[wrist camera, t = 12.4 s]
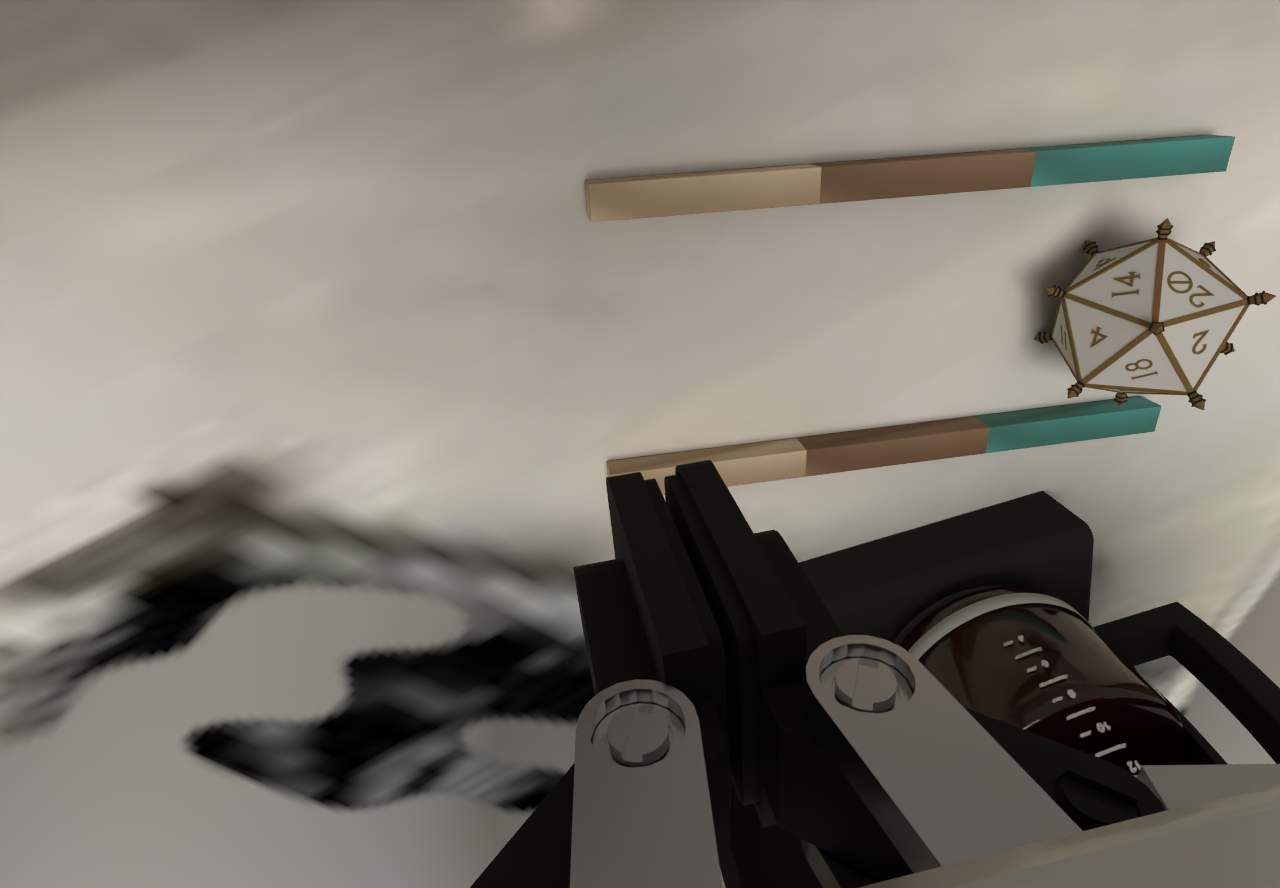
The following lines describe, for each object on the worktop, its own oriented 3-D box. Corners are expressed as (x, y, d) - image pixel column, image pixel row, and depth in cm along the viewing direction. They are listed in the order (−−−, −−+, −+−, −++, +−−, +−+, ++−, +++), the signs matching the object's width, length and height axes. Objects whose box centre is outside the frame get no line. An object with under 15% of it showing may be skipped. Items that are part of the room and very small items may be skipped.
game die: (1003, 287, 42) (999, 294, 33) (1168, 190, 38) (1213, 170, 29) (1090, 425, 42) (1109, 470, 33) (1267, 342, 37) (1343, 368, 29)
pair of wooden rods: (584, 180, 32) (588, 184, 31) (1207, 134, 36) (1235, 136, 35) (608, 487, 39) (612, 501, 37) (1133, 420, 43) (1154, 431, 41)
